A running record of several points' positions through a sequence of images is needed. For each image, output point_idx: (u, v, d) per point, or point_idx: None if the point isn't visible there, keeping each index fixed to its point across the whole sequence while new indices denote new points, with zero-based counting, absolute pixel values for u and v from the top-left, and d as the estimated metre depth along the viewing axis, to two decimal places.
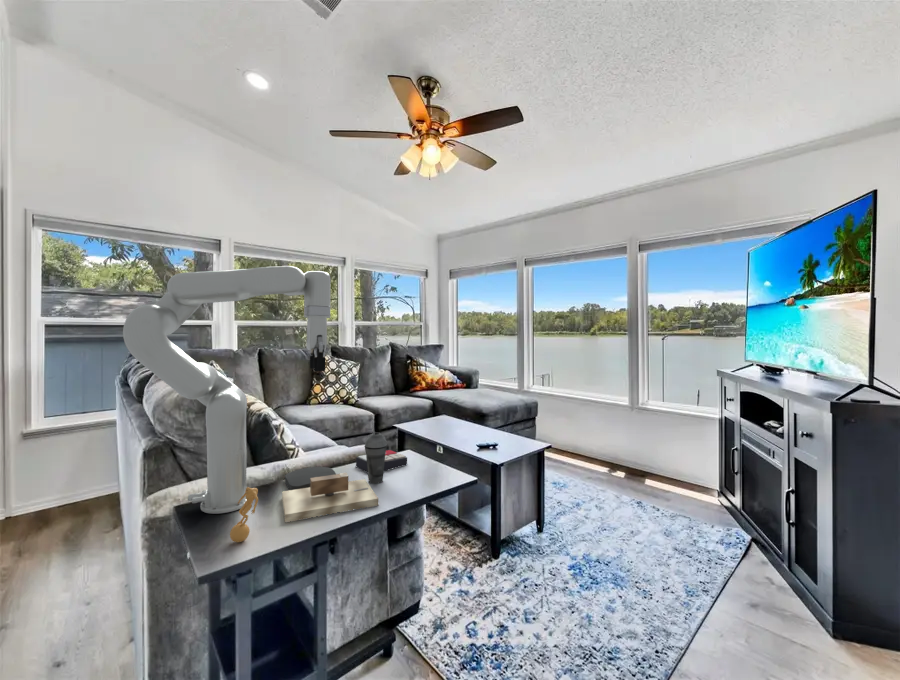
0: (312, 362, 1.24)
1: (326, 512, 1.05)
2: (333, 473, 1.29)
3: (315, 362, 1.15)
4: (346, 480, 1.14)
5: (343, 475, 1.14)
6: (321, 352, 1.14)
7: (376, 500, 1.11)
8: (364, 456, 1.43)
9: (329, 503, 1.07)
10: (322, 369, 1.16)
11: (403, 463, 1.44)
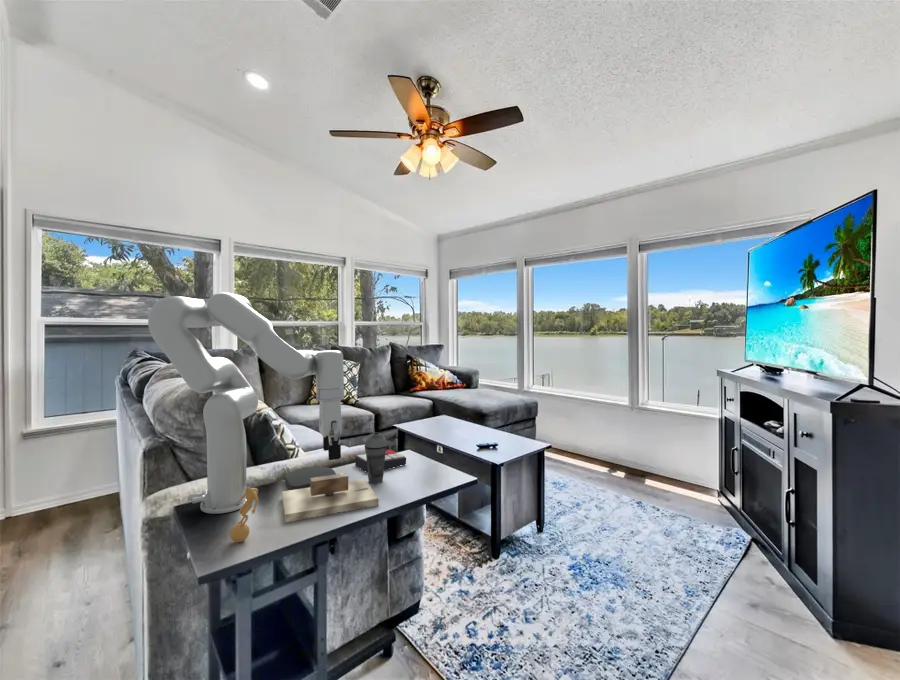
0: (326, 444, 1.16)
1: (326, 512, 1.05)
2: (333, 473, 1.29)
3: (330, 450, 1.08)
4: (346, 480, 1.14)
5: (343, 475, 1.14)
6: (336, 440, 1.06)
7: (376, 500, 1.11)
8: (363, 455, 1.44)
9: (329, 503, 1.07)
10: (337, 457, 1.09)
11: (402, 463, 1.44)
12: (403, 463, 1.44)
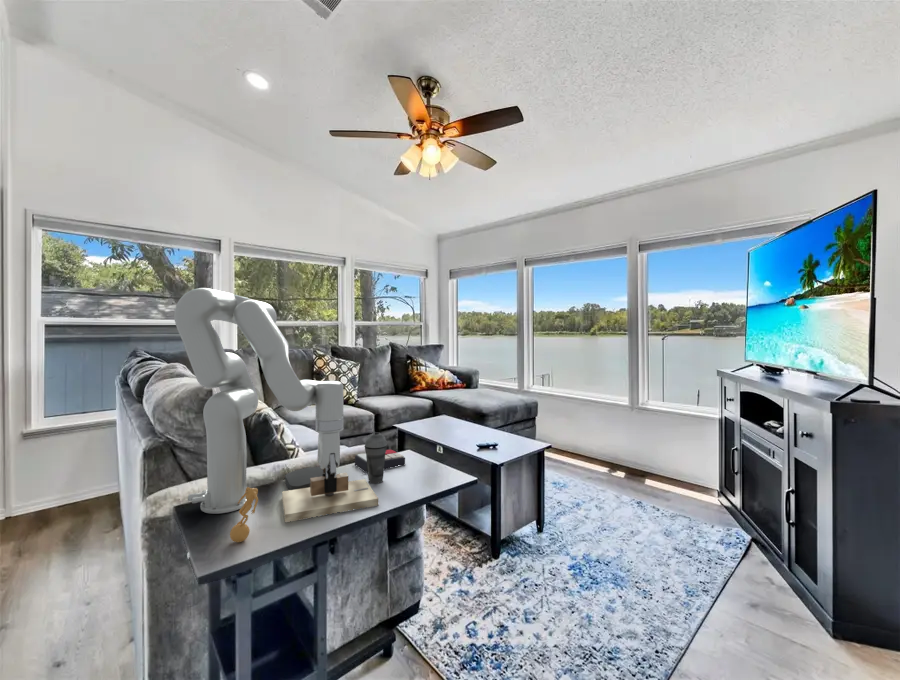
0: None
1: (326, 512, 1.05)
2: None
3: (326, 483, 1.10)
4: (346, 480, 1.14)
5: (343, 475, 1.14)
6: None
7: (376, 500, 1.11)
8: (363, 454, 1.45)
9: (329, 503, 1.07)
10: (333, 490, 1.11)
11: (400, 463, 1.44)
12: (402, 463, 1.44)
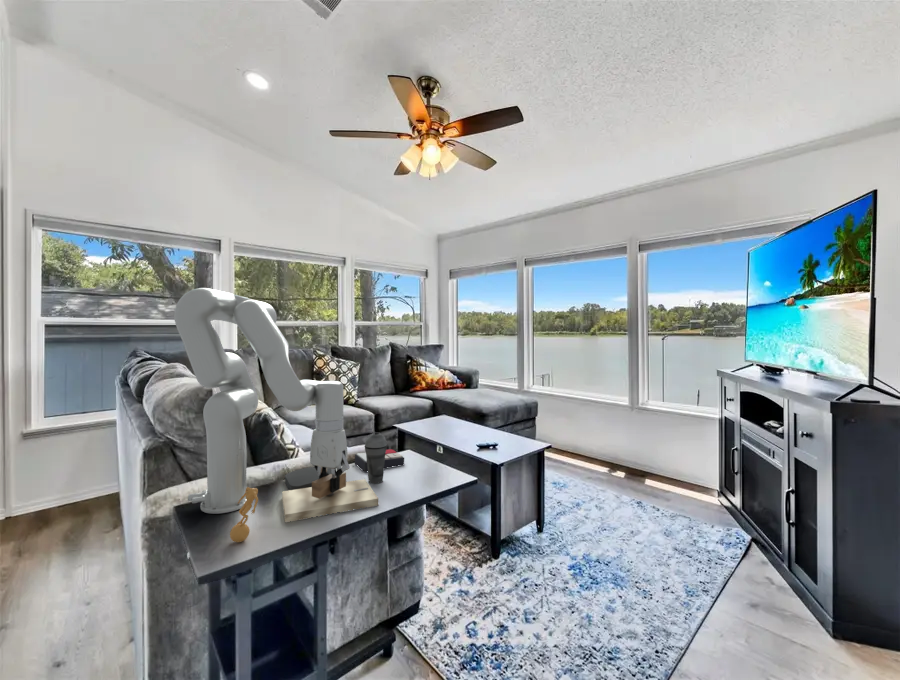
0: None
1: (326, 512, 1.05)
2: None
3: (332, 483, 1.11)
4: (344, 477, 1.16)
5: None
6: None
7: (376, 500, 1.11)
8: (362, 454, 1.46)
9: (329, 503, 1.07)
10: None
11: (399, 463, 1.44)
12: (401, 463, 1.44)
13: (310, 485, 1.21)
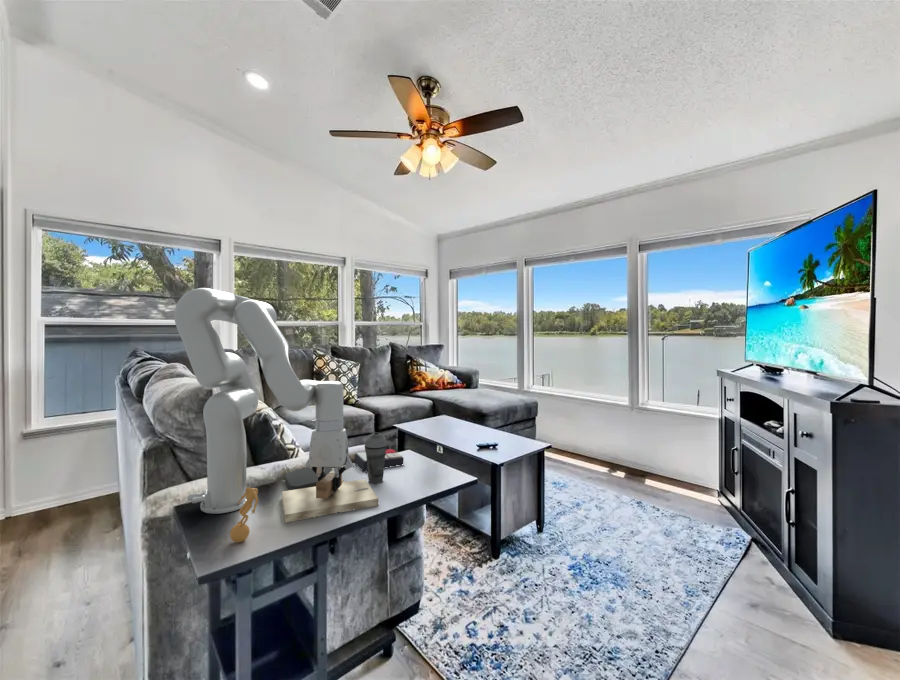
0: None
1: (326, 512, 1.05)
2: None
3: (335, 482, 1.12)
4: None
5: None
6: None
7: (376, 500, 1.11)
8: (362, 453, 1.46)
9: (329, 503, 1.07)
10: None
11: (398, 463, 1.44)
12: (400, 463, 1.44)
13: (310, 485, 1.21)
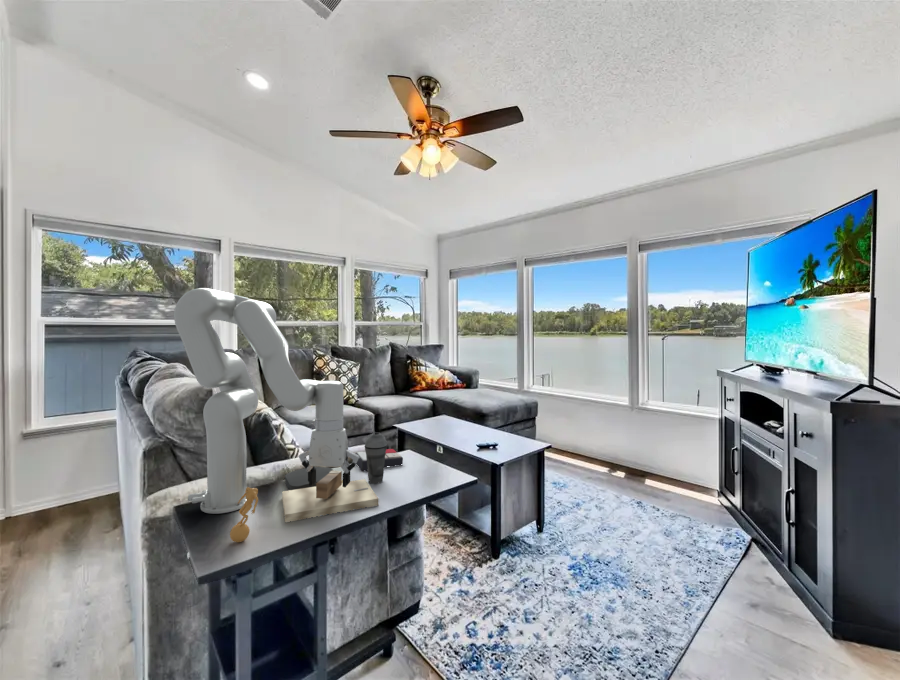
0: (312, 478, 1.12)
1: (326, 512, 1.05)
2: None
3: (345, 478, 1.11)
4: (340, 475, 1.17)
5: (337, 472, 1.17)
6: (354, 466, 1.12)
7: (376, 500, 1.11)
8: (362, 452, 1.47)
9: (329, 503, 1.07)
10: (347, 482, 1.13)
11: (398, 463, 1.44)
12: (399, 463, 1.44)
13: None
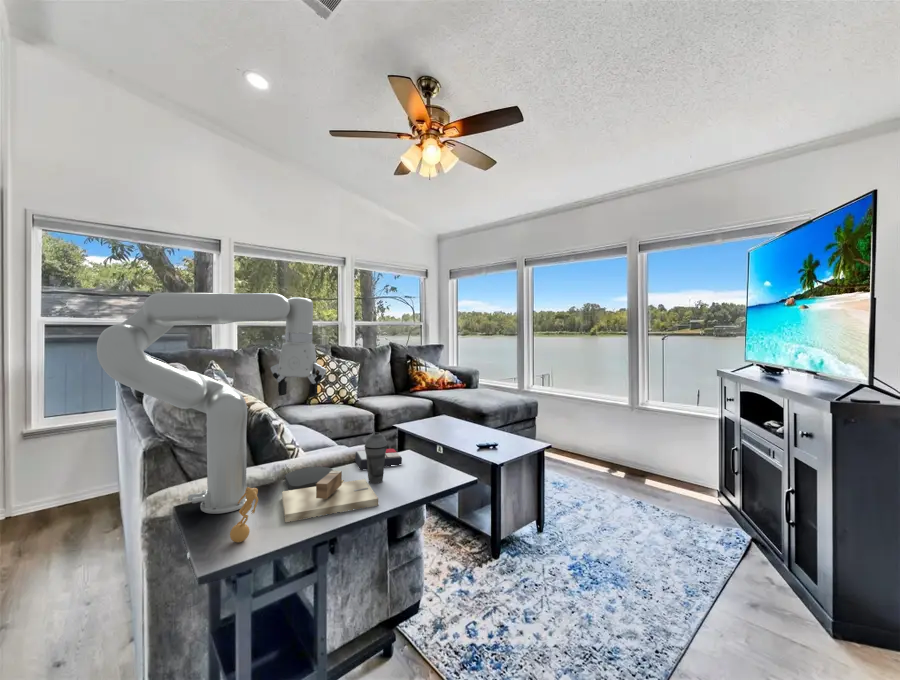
0: (282, 389, 1.20)
1: (326, 512, 1.05)
2: None
3: (312, 388, 1.19)
4: (340, 475, 1.17)
5: (337, 472, 1.17)
6: (321, 378, 1.20)
7: (376, 500, 1.11)
8: (362, 452, 1.48)
9: (329, 503, 1.07)
10: (315, 394, 1.21)
11: (396, 463, 1.44)
12: (398, 463, 1.45)
13: (310, 485, 1.21)
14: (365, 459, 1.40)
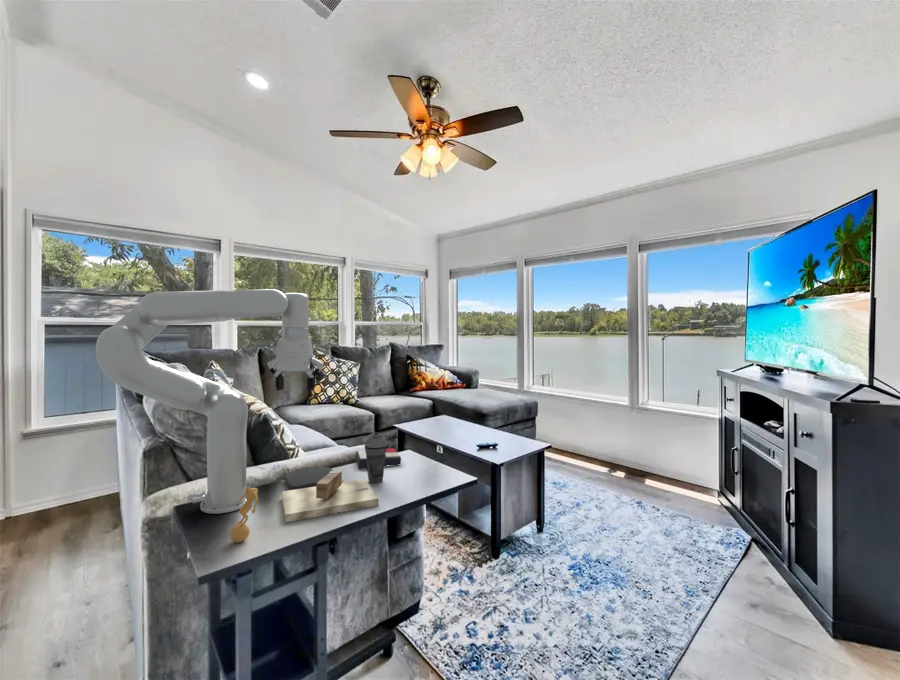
0: (279, 384, 1.21)
1: (326, 512, 1.05)
2: None
3: (310, 382, 1.20)
4: (340, 475, 1.17)
5: (337, 472, 1.17)
6: (318, 372, 1.21)
7: (376, 500, 1.11)
8: (362, 451, 1.49)
9: (329, 503, 1.07)
10: (312, 388, 1.22)
11: (395, 463, 1.44)
12: (397, 463, 1.45)
13: (310, 485, 1.21)
14: (364, 458, 1.41)
